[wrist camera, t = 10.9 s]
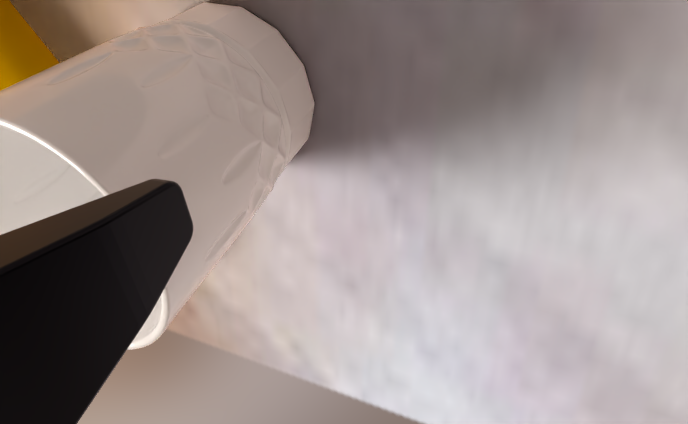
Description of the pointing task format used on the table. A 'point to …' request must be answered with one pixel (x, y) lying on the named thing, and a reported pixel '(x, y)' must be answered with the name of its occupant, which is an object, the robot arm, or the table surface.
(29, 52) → the element tile
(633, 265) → the table surface
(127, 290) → the robot arm
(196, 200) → the white cup
